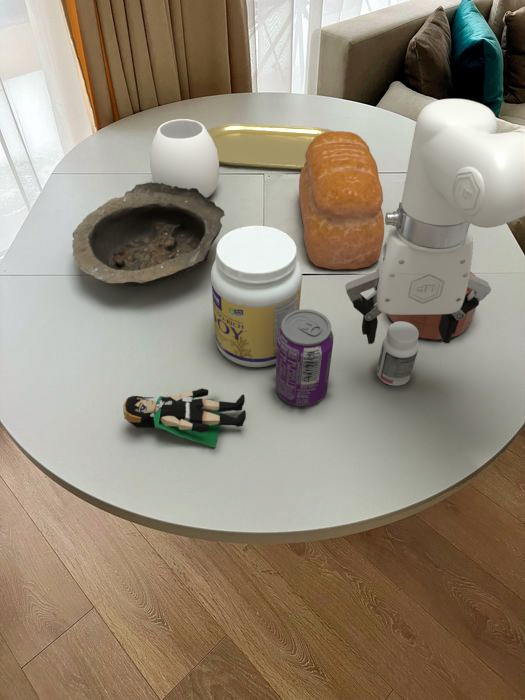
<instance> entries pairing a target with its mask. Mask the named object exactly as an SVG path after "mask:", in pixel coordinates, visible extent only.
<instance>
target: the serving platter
mask: <svg viewBox="0 0 525 700" xmlns="http://www.w3.org/2000/svg"><path fill="white" fill-rule="evenodd" d="M206 130H207V132H208V133H209V135H210V136H211V138H212V140H213V142H214V144H215V146H216V148H217V153H218V159H219V165H224V166H233V167H248V168H263V169H265V168H267V169H280V170H281V169H282V170H299V171H302V168H303V166H304V164H305V162H306V158H305V154H306V151H307V148H308V146H309V145H310V143H311V142H312V141H313V140H314V139H315V138H316V137H317V136H319V135H321V134H322V133H325V132H333V131H334V130H331V129H328V128H323V127H313V126H311V127H310V126H297V125H296V126H293V125H274V124H256V123H227V124H221V125H218V126H214V127H212V128H208V129H206Z"/></svg>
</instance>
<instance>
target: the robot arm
mask: <svg viewBox="0 0 525 700" xmlns="http://www.w3.org/2000/svg"><path fill="white" fill-rule="evenodd" d="M416 118H417V119H416V122H415V125H414V126H415V127H414V132H413V139H412V142H411V148H410V153H409V158H408V163H407V164H408V165H407V169H406V174H405V181H404V186H403V192H402V197H401V201H399V204H398V208H396V210H393V211H392V212H386V213H385V218H384V224H385V225H386V226H391V227H390V230H389V231H388V234H387V236H386V238H385V241H384V244H383V245H382V249H381V253H380V257H379V259H378V263H377V266H376V270H375V271H374V272H371V273H369V274H366V275H364V276H361V277H359V278H357V279H353V280H351V281H349V282H347V283H346V284H345V291H346V292H345V293H346V294H347V297H348V298H349V300H350V302H351V303H352V306H353V308H354V309H355V310H356V311H357V312H358V313H360V314H361V315H362V316H363V317H362V322H361V333H362V335H364V336H365V335H366V340H367V344H368V345H373V344H374V343H375V342H376V337H377V336H376V335H377V330H378V324H379V321H378V316H380V315H381V314H382V313H383V314H386V315H388V314H391V315H430V314H442V316H441V320H440V323H439V327H438V329H439V332H440V335H441V338H442V339H441V341H442V343H444V344H450V343H451V339H452V337H451V336H452V334H455V332H456V328H457V325H458V322H459V320H462V319H463V318H464V317H465V314H466V313H467V312H469V311H471V310H472V309H474V308H475V307H476V308H478V306H479V305H480V302H481V301H483V300H484V299H485V298H486V297H487V296H488V295H489V294H490V293H491V292H492V288H491V286H490V284H489V281H486V280H485V279H482V278H480V277H478V276H477V275H475V274H474V275H475V276H474V275H472V274H470V271H471V269H472V261H473V254H474V253H473V252H474V237H473V235H472V234H471V232H470V229H469V228H470V226H471V225H472V226H475V227H478V228H483V229H484V228H486V229H487V228H488V229H489V228H496V227H499V226H503V225H505V224H508V223H511V222H513V221H516V220H519V219H521V218H524V217H525V126H522V127H520V128H516V129H514V130H511V131H508V132H497V130H498V120H497V117H496V114H495V113H494V112H493V110H492V109H490V108H489V107H488V106H486V105H484V104H483V103H480V102H477V101H474V100H470V99H465V98H444V99H439V100H434V101H432V102H430V103H428V104H427V105H425V106H424V107H423V109H422V110H420V112H419V113H418V116H417V117H416ZM467 288H469V289H471V290H472V292H469V293H467V294H466V290H467ZM372 289H373V290H374V291H373V292H372V293H371V294H370V295H369V296H368V297H365V296H364V295H362V293H363V292H366V291H369V290H372Z"/></svg>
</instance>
